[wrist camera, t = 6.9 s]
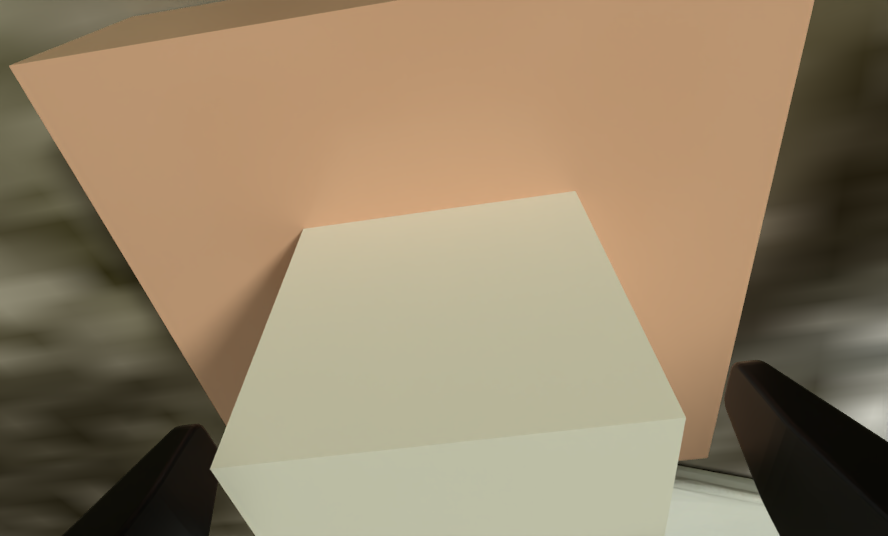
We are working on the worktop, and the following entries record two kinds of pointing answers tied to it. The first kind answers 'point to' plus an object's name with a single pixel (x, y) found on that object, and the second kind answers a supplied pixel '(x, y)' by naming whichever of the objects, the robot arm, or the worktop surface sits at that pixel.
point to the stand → (430, 148)
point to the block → (454, 385)
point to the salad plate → (716, 506)
